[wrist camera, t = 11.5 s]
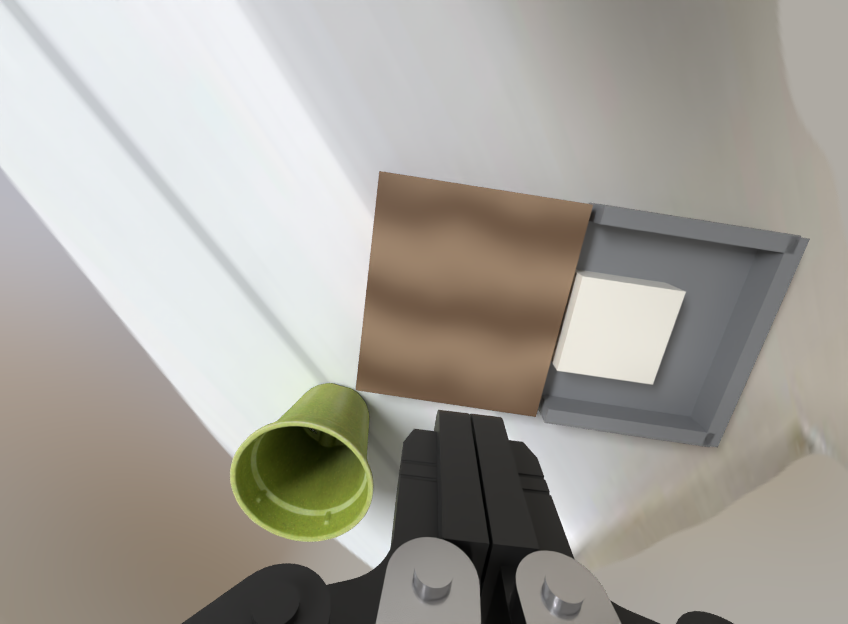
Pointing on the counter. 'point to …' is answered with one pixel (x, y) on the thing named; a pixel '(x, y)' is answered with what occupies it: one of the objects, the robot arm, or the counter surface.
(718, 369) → the tray
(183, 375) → the counter surface
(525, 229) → the brown square board
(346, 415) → the plant pot
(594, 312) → the tile
